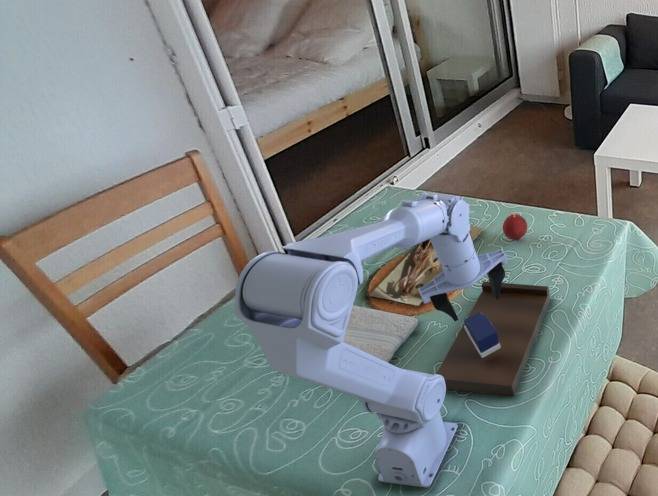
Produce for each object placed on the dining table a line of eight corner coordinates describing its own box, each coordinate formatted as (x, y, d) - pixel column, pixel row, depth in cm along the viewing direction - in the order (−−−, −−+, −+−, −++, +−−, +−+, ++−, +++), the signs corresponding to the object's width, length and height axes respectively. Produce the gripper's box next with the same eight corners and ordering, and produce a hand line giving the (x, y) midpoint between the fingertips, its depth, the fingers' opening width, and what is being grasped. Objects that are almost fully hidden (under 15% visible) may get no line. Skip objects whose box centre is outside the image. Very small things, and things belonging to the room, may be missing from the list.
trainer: (501, 348, 90) (497, 332, 89) (481, 358, 88) (478, 342, 87) (482, 320, 96) (479, 304, 95) (464, 329, 94) (460, 313, 93)
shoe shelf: (514, 396, 85) (511, 380, 83) (436, 388, 86) (431, 372, 84) (550, 300, 104) (548, 286, 102) (486, 295, 106) (483, 281, 104)
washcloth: (344, 310, 102) (340, 299, 101) (422, 324, 99) (419, 312, 98) (297, 358, 92) (292, 346, 91) (383, 375, 89) (378, 363, 87)
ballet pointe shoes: (485, 206, 125) (419, 283, 100) (488, 227, 128) (425, 308, 103) (435, 199, 127) (359, 273, 103) (440, 220, 130) (367, 297, 105)
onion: (502, 236, 124) (498, 209, 120) (525, 230, 126) (521, 203, 123) (507, 249, 119) (503, 222, 116) (531, 243, 121) (527, 216, 118)
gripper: (490, 220, 88) (505, 272, 95) (405, 259, 81) (429, 310, 89) (505, 245, 83) (520, 296, 91) (416, 287, 76) (440, 339, 84)
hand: (476, 305), depth 89 cm, fingers open, 7 cm apart
